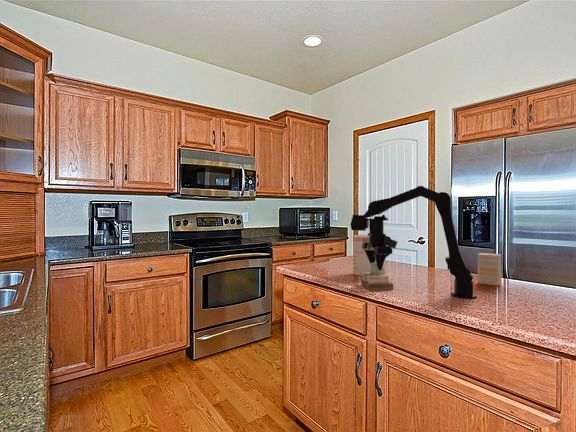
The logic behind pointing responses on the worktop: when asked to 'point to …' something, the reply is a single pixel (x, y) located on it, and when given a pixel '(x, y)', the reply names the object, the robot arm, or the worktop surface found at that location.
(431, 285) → the worktop surface
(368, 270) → the coffeecake box
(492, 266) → the supplement box
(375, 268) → the green rounded lump
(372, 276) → the top block
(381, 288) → the base slab
